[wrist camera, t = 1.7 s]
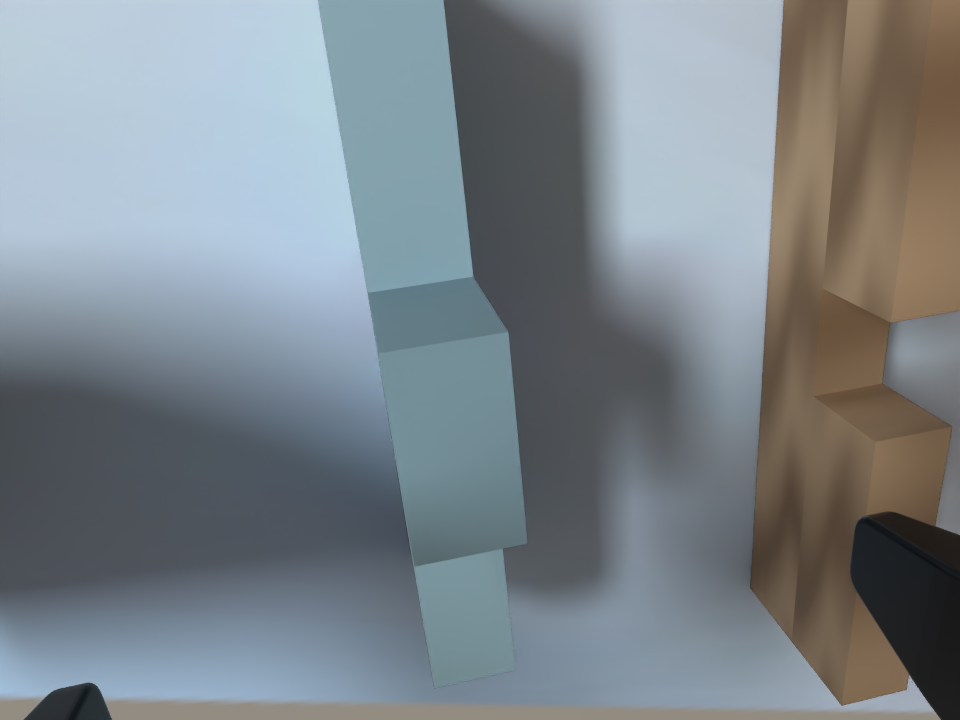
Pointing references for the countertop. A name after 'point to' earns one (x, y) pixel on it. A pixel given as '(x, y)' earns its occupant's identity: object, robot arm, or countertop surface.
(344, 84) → the slate-blue slotted plate
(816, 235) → the walnut slotted board
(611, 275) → the countertop surface
